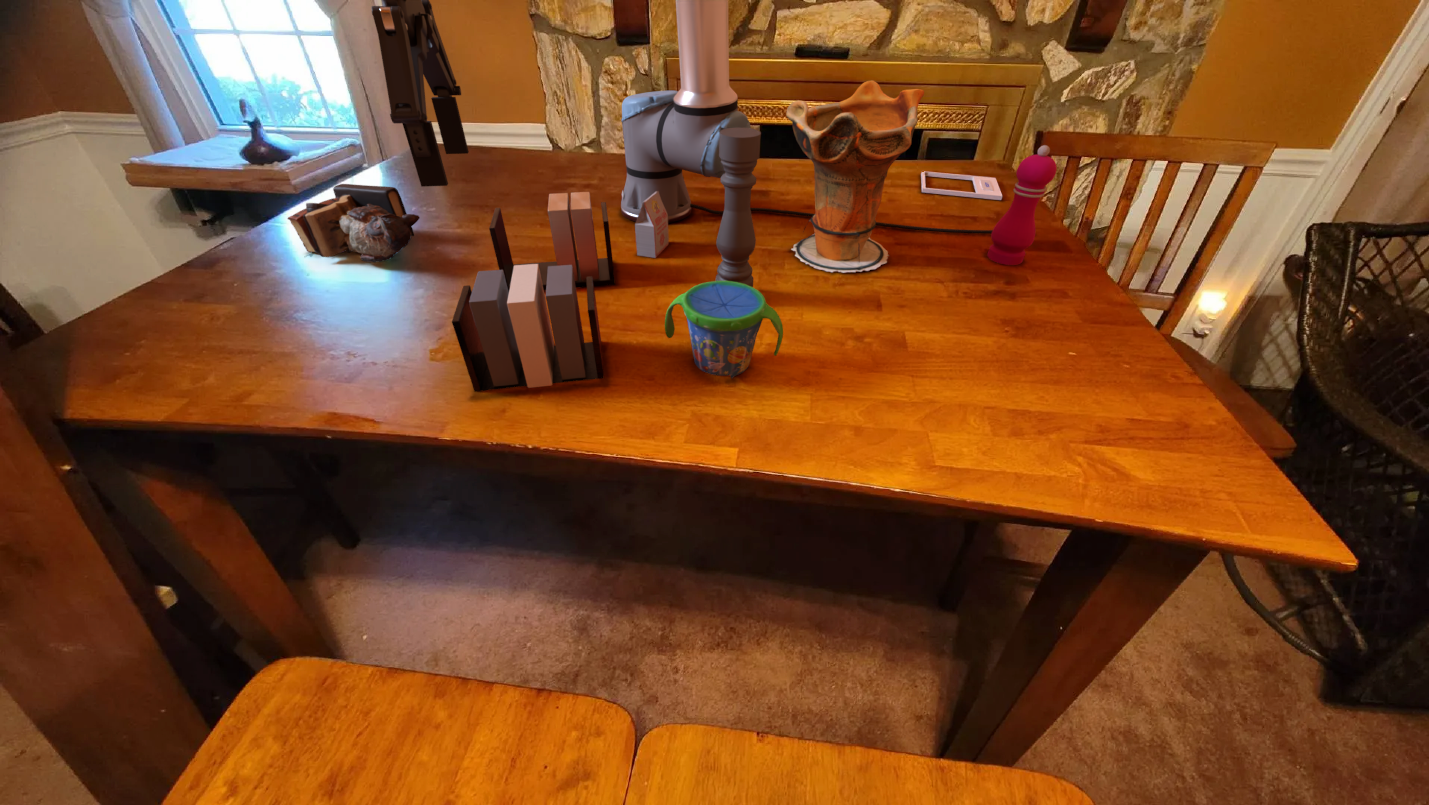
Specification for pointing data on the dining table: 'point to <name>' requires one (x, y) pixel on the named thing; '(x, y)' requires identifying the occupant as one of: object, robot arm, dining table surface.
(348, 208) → the bookend
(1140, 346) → the dining table surface
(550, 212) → the black rack
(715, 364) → the snack cup
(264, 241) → the dining table surface
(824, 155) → the decorative vase
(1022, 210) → the pepper mill
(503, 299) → the grey book
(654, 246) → the milk carton
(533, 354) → the white book
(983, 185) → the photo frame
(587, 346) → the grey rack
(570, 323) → the grey book
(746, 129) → the candle holder
